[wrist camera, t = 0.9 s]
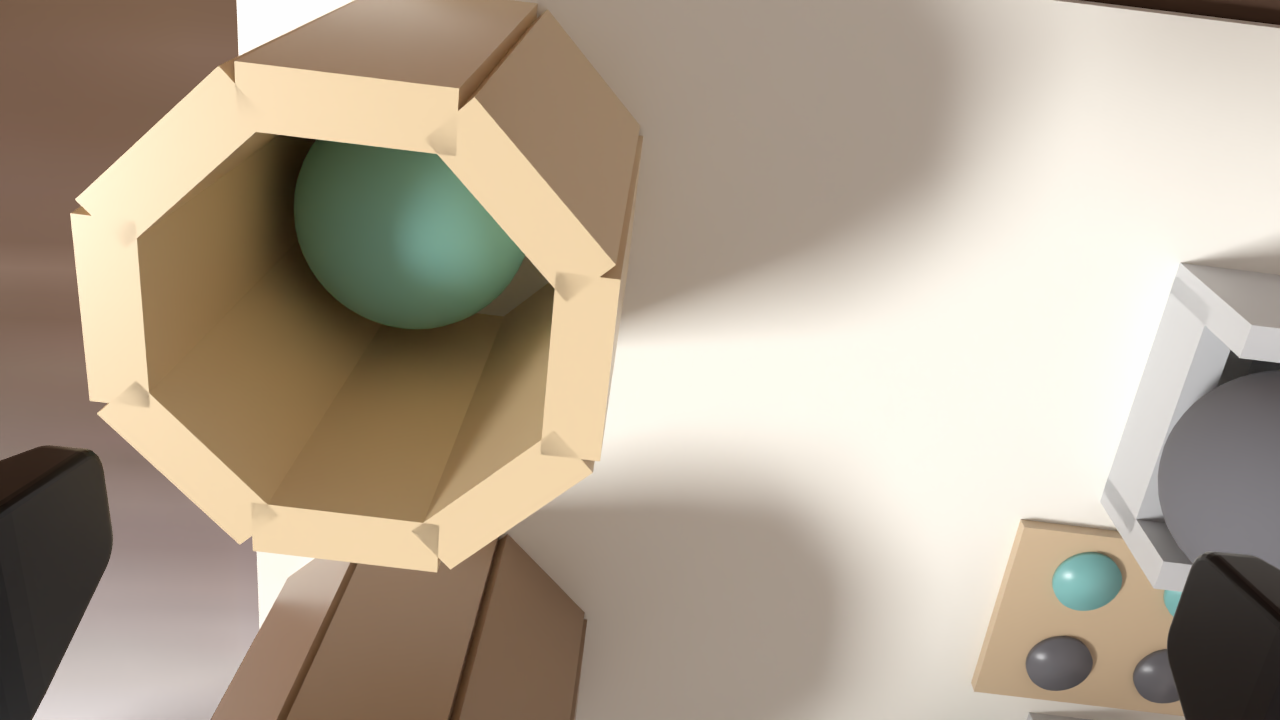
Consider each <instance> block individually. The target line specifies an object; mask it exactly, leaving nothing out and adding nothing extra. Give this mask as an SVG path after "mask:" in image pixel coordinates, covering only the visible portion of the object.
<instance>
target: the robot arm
mask: <svg viewBox="0 0 1280 720" xmlns="http://www.w3.org/2000/svg"><path fill="white" fill-rule="evenodd" d="M112 542H113V534H112V526H111V519H110V512H109V505H108V498H107V491H106V485H105V478H104V471H103V467H102V463H101V461H100V459H99V457H98V456H97V455H96V454H95V453H94V452H93V451H91V450H88V449H82V448H72V447H61V446H50V445H49V446H40V447H37V448H34V449H31V450H29V451H26V452H23V453H20V454H18V455H15V456H12V457H9V458H7V459H4V460H1V461H0V720H32V718H33V717H34V715H35V713H36V711H37V709H38V707H39V705H40V703H41V701H42V699H43V697H44V695H45V694H46V691H47V689H48V687H49V685H50V683H51V681H52V679H53V677H54V675H55V673H56V671H57V669H58V667H59V664H60V662H61V660H62V658H63V656H64V654H65V652H66V650H67V648H68V646H69V644H70V642H71V640H72V637H73V635H74V633H75V631H76V629H77V627H78V625H79V623H80V621H81V619H82V617H83V615H84V613H85V610H86V608H87V606H88V604H89V602H90V600H91V598H92V596H93V594H94V592H95V590H96V588H97V586H98V583H99V581H100V579H101V577H102V575H103V573H104V571H105V569H106V567H107V564H108V562H109V559H110V555H111V551H112ZM1167 655H1168V661H1169V666H1170V669H1171V673H1172V676H1173V680H1174V683H1175V686H1176V690H1177V693H1178V697H1179V700H1180V704H1181V707H1182V710H1183V714H1184V717H1185V720H1280V569H1278V568H1276V567H1275V566H1273V565H1271V564H1269V563H1267V562H1266V561H1264V560H1262V559H1260V558H1258V557H1256V556H1252V555H1248V554H1236V553H1225V552H1205V553H1203V554H1201V555H1200V556H1198V557H1197V558H1196V560H1195V561H1194V562H1193V564H1192V566H1191V568H1190V571H1189V574H1188V577H1187V580H1186V583H1185V585H1184V588H1183V591H1182V594H1181V597H1180V600H1179V603H1178V606H1177V608H1176V611H1175V614H1174V617H1173V620H1172V623H1171V626H1170V629H1169V633H1168V638H1167Z"/></svg>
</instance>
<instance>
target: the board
mask: <svg viewBox="0 0 1280 720" xmlns="http://www.w3.org/2000/svg"><path fill="white" fill-rule="evenodd" d="M237 23H238V50H239V56H238V57H236V58H234V59H232V60H230V61H228V62H225V63H223V64H221V65H219V66H218V67H217V68H216V69H215V70H214V71H212V72H211V73H210V74H209V75H208V76H207V77H206V78H205V79H204V80H203V81H202V82H201V83H200V84H199V85H197V86H196V87H195V88H194V89H193V90H192V91H191V92H190V93H189V94H188V95H187V96H186V97H185V98H184V99H182V100H181V101H180V102H179V103H178V104H177V105H176V106H175V107H174V108H173V109H172V110H171V111H170V112H169V113H167V114H166V115H165V116H164V117H163V118H162V119H161V120H160V121H159V122H158V123H157V124H156V125H155V126H153V127H152V128H151V129H150V130H149V131H148V132H147V133H146V134H145V135H144V136H143V137H142V138H141V139H140V140H138V141H137V142H136V143H135V144H134V145H133V146H132V147H131V148H130V149H129V150H128V151H127V152H126V153H125V154H123V155H122V156H121V157H120V158H119V159H118V160H117V161H116V162H115V163H114V164H113V165H112V166H111V167H110V168H108V169H107V170H106V171H105V172H104V173H103V174H102V175H101V176H100V177H99V178H98V179H97V180H96V181H94V182H93V183H92V184H91V185H90V186H89V187H88V188H87V189H86V190H85V191H84V192H83V193H82V194H81V195H79V196H78V197H77V198H76V199H75V200H76V201H77V202H78V203H79V204H80V205H81V207H80V208H78V209H77V210H75V211H73V212H72V213H70V215H71V225H72V234H73V244H74V253H75V263H76V272H77V282H78V292H79V301H80V311H81V320H82V330H83V339H84V349H85V359H86V368H87V378H88V387H89V397H90V401H96V402H105V403H107V404H106V405H105V406H104V407H103V408H102V409H101V410H100V411H99V412H98V413H97V414H98V415H99V416H100V417H101V418H102V419H103V420H104V421H105V422H107V423H108V424H109V425H110V426H111V427H112V428H113V429H114V430H115V431H116V432H117V433H119V434H120V435H121V436H122V437H123V438H124V439H125V440H126V441H127V442H128V443H129V444H131V445H132V446H133V447H134V448H135V449H136V450H137V451H138V452H139V453H140V454H141V455H142V456H144V457H145V458H146V459H147V460H148V461H149V462H150V463H151V464H152V465H153V466H154V467H156V468H157V469H158V470H159V471H160V472H161V473H162V474H163V475H164V476H165V477H166V478H168V479H169V480H170V481H171V482H172V483H173V484H174V485H175V486H176V487H177V488H178V489H180V490H181V491H182V492H183V493H184V494H185V495H186V496H187V497H188V498H189V499H190V500H192V501H193V502H194V503H195V504H196V505H197V506H198V507H199V508H200V509H201V510H202V511H203V512H205V513H206V514H207V515H208V516H209V517H210V518H211V519H212V520H213V521H214V522H215V523H217V524H218V525H219V526H220V527H221V528H222V529H223V530H224V531H225V532H226V533H227V534H229V535H230V536H231V537H232V538H233V539H234V540H235V541H236V542H237V543H238V544H239V545H240V544H241V543H243V542H244V541H245V540H247V539H248V538H249V537H251V536H252V538H253V551H257V571H258V598H259V626H260V630H259V632H258V634H257V635H256V637H255V639H254V641H253V643H252V645H251V646H250V648H249V650H248V652H247V654H246V656H245V657H244V659H243V661H242V663H241V665H240V667H239V668H238V670H237V672H236V674H235V676H234V678H233V679H232V681H231V683H230V685H229V687H228V689H227V690H226V692H225V694H224V696H223V698H222V700H221V702H220V703H219V705H218V707H217V709H216V711H215V713H214V714H213V716H212V718H211V720H1185V717H1184V714H1183V710H1182V707H1181V704H1180V700H1179V697H1178V693H1177V690H1176V686H1175V683H1174V680H1173V676H1172V673H1171V669H1170V666H1169V661H1168V655H1167V638H1168V633H1169V629H1170V626H1171V623H1172V620H1173V617H1174V614H1175V611H1176V608H1177V606H1178V603H1179V600H1180V597H1181V594H1182V591H1183V588H1184V585H1185V583H1186V580H1187V577H1188V574H1189V571H1190V568H1191V566H1192V564H1193V563H1192V562H1191V561H1190V559H1189V558H1188V557H1187V556H1186V555H1185V553H1184V552H1183V551H1182V550H1181V549H1180V548H1179V546H1178V545H1177V543H1176V541H1175V539H1174V538H1173V536H1172V534H1171V532H1170V531H1169V529H1168V527H1167V524H1166V522H1165V519H1164V516H1163V513H1162V510H1161V506H1160V501H1159V496H1158V470H1159V463H1160V459H1161V455H1162V452H1163V448H1164V445H1165V443H1166V441H1167V438H1168V436H1169V434H1170V433H1171V431H1172V429H1173V427H1174V426H1175V424H1176V423H1177V422H1178V420H1179V419H1180V418H1181V417H1182V415H1183V414H1184V413H1185V412H1186V411H1187V410H1188V409H1189V408H1190V407H1191V406H1192V405H1193V404H1194V403H1195V402H1196V401H1197V400H1199V399H1200V398H1201V397H1202V396H1204V395H1205V394H1207V393H1208V392H1210V391H1211V390H1213V389H1215V388H1216V387H1218V386H1220V385H1222V384H1224V383H1226V382H1229V381H1232V380H1234V379H1237V378H1239V377H1242V376H1246V375H1249V374H1253V373H1258V372H1264V371H1276V370H1280V25H1275V24H1267V23H1259V22H1251V21H1243V20H1235V19H1226V18H1218V17H1210V16H1202V15H1194V14H1186V13H1178V12H1170V11H1162V10H1154V9H1146V8H1138V7H1130V6H1122V5H1114V4H1106V3H1097V2H1089V1H1081V0H237ZM316 139H318V140H327V141H335V142H343V143H351V144H360V145H368V146H376V147H384V148H392V149H401V150H409V151H417V152H425V153H433V154H438V156H439V157H440V158H441V159H442V160H443V161H444V162H445V164H446V165H447V166H448V167H449V168H450V169H451V170H452V172H453V173H454V174H455V175H456V176H457V177H458V178H459V180H460V181H461V182H462V183H463V184H464V185H465V186H466V188H467V189H468V190H469V191H470V192H471V193H472V194H473V196H474V197H475V198H476V199H477V200H478V201H479V203H480V204H481V205H482V206H483V207H484V208H485V209H486V211H487V212H488V213H489V214H490V215H491V216H492V217H493V219H494V220H495V221H496V222H497V223H498V224H499V225H500V227H501V228H502V229H503V230H504V231H505V232H506V233H507V235H508V236H509V237H510V238H511V239H512V240H513V242H514V243H515V244H516V245H517V246H518V247H519V248H520V250H521V251H522V252H523V253H524V254H525V257H524V259H523V262H522V264H521V266H520V268H519V270H518V271H517V273H516V274H515V276H514V277H513V279H512V281H511V282H510V284H509V285H508V286H507V287H506V288H505V290H504V291H503V292H502V293H501V294H500V295H499V296H498V297H497V298H496V299H495V300H493V301H492V302H491V303H490V304H489V305H487V306H486V307H485V308H483V309H482V310H480V311H479V312H477V313H476V314H474V315H472V316H470V317H468V318H466V319H464V320H461V321H458V322H455V323H452V324H449V325H446V326H441V327H436V328H431V329H402V328H397V327H391V326H387V325H384V324H380V323H377V322H374V321H371V320H369V319H367V318H364V317H362V316H360V315H358V314H357V313H355V312H353V311H351V310H350V309H348V308H347V307H345V306H344V305H343V304H341V303H340V302H339V301H337V300H336V299H335V298H334V297H333V296H332V295H331V294H330V293H329V292H328V291H327V290H326V289H325V288H324V286H323V285H322V284H321V283H320V282H319V281H318V279H317V278H316V276H315V275H314V273H313V272H312V270H311V269H310V267H309V265H308V263H307V261H306V259H305V257H304V255H303V253H302V250H301V247H300V244H299V242H298V238H297V233H296V228H295V219H294V193H295V188H296V183H297V179H298V176H299V173H300V170H301V167H302V164H303V161H304V159H305V157H306V155H307V153H308V152H309V150H310V148H311V146H312V145H313V144H314V142H315V141H316Z"/></svg>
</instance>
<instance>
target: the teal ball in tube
mask: <svg viewBox="0 0 1280 720" xmlns="http://www.w3.org/2000/svg"><path fill="white" fill-rule="evenodd" d="M294 219H295V228H296V233H297V238H298V242H299V244H300V247H301V250H302V253H303V255H304V257H305V259H306V261H307V263H308V265H309V267H310V269H311V270H312V272H313V273H314V275H315V276H316V278H317V279H318V281H319V282H320V283H321V284H322V285H323V286H324V288H325V289H326V290H327V291H328V292H329V293H330V294H331V295H332V296H333V297H334V298H335V299H336V300H337V301H339V302H340V303H341V304H343V305H344V306H345V307H347V308H348V309H350V310H351V311H353V312H355V313H357V314H358V315H360V316H362V317H364V318H367V319H369V320H371V321H374V322H377V323H380V324H384V325H387V326H391V327H397V328H402V329H431V328H436V327H441V326H446V325H449V324H452V323H455V322H458V321H461V320H464V319H466V318H468V317H470V316H472V315H474V314H476V313H477V312H479V311H480V310H482V309H483V308H485V307H486V306H487V305H489V304H490V303H491V302H492V301H493V300H495V299H496V298H497V297H498V296H499V295H500V294H501V293H502V292H503V291H504V290H505V288H506V287H507V286H508V285H509V284H510V282H511V281H512V279H513V277H514V276H515V274H516V273H517V271H518V270H519V268H520V266H521V264H522V262H523V259H524V257H525V254H524V253H523V252H522V251H521V250H520V248H519V247H518V246H517V245H516V244H515V243H514V242H513V240H512V239H511V238H510V237H509V236H508V235H507V233H506V232H505V231H504V230H503V229H502V228H501V227H500V225H499V224H498V223H497V222H496V221H495V220H494V219H493V217H492V216H491V215H490V214H489V213H488V212H487V211H486V209H485V208H484V207H483V206H482V205H481V204H480V203H479V201H478V200H477V199H476V198H475V197H474V196H473V194H472V193H471V192H470V191H469V190H468V189H467V188H466V186H465V185H464V184H463V183H462V182H461V181H460V180H459V178H458V177H457V176H456V175H455V174H454V173H453V172H452V170H451V169H450V168H449V167H448V166H447V165H446V164H445V162H444V161H443V160H442V159H441V158H440V157H439V156H438V154H433V153H425V152H417V151H409V150H401V149H392V148H384V147H376V146H368V145H360V144H351V143H343V142H335V141H327V140H318V139H316V141H315V142H314V144H313V145H312V146H311V148H310V150H309V152H308V153H307V155H306V157H305V159H304V161H303V164H302V167H301V170H300V173H299V176H298V179H297V183H296V188H295V193H294Z"/></svg>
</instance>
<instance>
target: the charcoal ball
mask: <svg viewBox="0 0 1280 720" xmlns="http://www.w3.org/2000/svg"><path fill="white" fill-rule="evenodd" d="M1158 496H1159V501H1160V506H1161V510H1162V513H1163V516H1164V519H1165V522H1166V524H1167V527H1168V529H1169V531H1170V532H1171V534H1172V536H1173V538H1174V539H1175V541H1176V543H1177V545H1178V546H1179V548H1180V549H1181V550H1182V551H1183V552H1184V553H1185V555H1186V556H1187V557H1188V558H1189V559H1190V561H1191V562H1192V563H1193V562H1194V561H1195V560H1196V558H1197V557H1198V556H1200V555H1201V554H1203V553H1205V552H1225V553H1236V554H1248V555H1252V556H1256V557H1258V558H1260V559H1262V560H1264V561H1266V562H1267V563H1269V564H1271V565H1273V566H1275V567H1276V568H1278V569H1280V370H1276V371H1264V372H1258V373H1253V374H1249V375H1246V376H1242V377H1239V378H1237V379H1234V380H1232V381H1229V382H1226V383H1224V384H1222V385H1220V386H1218V387H1216V388H1215V389H1213V390H1211V391H1210V392H1208V393H1207V394H1205V395H1204V396H1202V397H1201V398H1200V399H1199V400H1197V401H1196V402H1195V403H1194V404H1193V405H1192V406H1191V407H1190V408H1189V409H1188V410H1187V411H1186V412H1185V413H1184V414H1183V415H1182V417H1181V418H1180V419H1179V420H1178V422H1177V423H1176V424H1175V426H1174V427H1173V429H1172V431H1171V433H1170V434H1169V436H1168V438H1167V441H1166V443H1165V445H1164V448H1163V452H1162V455H1161V459H1160V463H1159V470H1158Z"/></svg>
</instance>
